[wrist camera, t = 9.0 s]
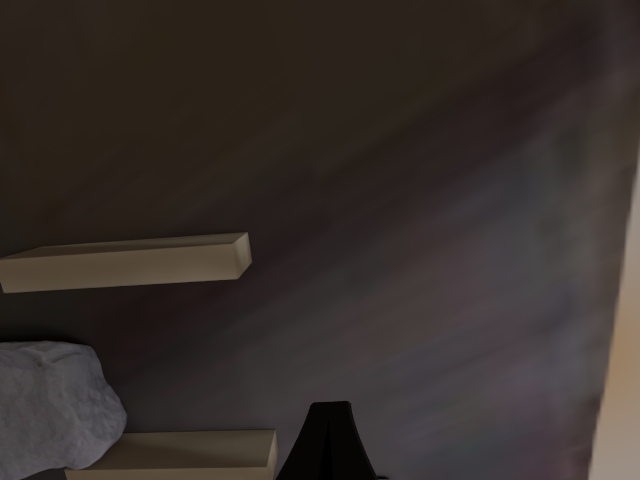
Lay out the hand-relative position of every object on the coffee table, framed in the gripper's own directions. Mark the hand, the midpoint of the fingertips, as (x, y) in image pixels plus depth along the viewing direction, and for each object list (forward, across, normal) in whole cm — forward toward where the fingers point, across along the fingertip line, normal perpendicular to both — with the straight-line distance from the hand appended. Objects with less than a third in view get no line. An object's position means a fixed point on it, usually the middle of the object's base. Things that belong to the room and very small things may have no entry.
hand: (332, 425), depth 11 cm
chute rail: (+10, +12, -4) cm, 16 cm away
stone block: (+10, +23, +5) cm, 26 cm away
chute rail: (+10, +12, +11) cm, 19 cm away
